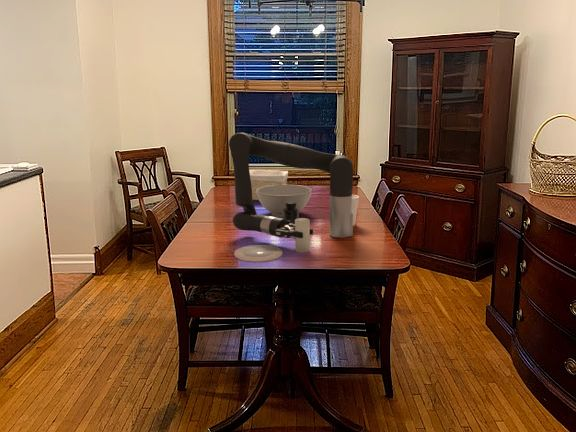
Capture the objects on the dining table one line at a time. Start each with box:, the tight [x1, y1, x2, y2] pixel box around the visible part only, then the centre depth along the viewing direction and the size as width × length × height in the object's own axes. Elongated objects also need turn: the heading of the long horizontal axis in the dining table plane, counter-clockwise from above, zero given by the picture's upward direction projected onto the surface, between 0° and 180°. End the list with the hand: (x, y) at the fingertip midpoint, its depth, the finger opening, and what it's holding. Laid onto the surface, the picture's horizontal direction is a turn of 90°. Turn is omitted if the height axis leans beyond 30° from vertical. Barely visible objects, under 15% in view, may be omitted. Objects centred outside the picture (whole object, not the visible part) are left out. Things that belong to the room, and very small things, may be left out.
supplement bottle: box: [282, 201, 300, 224], centre depth 241 cm, size 7×7×12 cm
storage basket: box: [249, 169, 289, 201], centre depth 302 cm, size 24×16×15 cm
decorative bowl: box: [256, 184, 313, 218], centre depth 267 cm, size 27×27×12 cm
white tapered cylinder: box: [294, 217, 311, 253], centre depth 211 cm, size 6×6×12 cm
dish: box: [233, 244, 283, 263], centre depth 208 cm, size 18×18×1 cm
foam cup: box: [352, 194, 360, 227], centre depth 246 cm, size 10×9×13 cm
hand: (307, 233), depth 209 cm, fingers closed on white tapered cylinder, 5 cm apart
